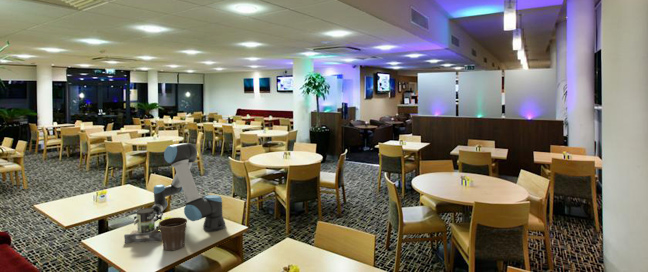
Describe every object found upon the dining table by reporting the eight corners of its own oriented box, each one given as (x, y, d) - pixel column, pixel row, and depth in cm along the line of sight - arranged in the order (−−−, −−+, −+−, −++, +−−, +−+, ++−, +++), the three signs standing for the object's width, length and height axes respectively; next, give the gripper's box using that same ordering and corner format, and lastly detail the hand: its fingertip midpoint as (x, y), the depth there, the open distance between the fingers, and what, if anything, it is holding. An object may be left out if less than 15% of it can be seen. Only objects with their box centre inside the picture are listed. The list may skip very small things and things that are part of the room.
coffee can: (158, 228, 234) (157, 208, 232) (147, 234, 224) (146, 213, 222) (145, 227, 236) (143, 207, 234) (134, 233, 226) (132, 212, 224)
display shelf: (167, 233, 238) (166, 225, 237) (160, 241, 225) (160, 233, 224) (133, 234, 235) (132, 227, 235) (124, 243, 222) (124, 235, 221)
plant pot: (193, 242, 224) (192, 218, 222) (178, 253, 208) (176, 227, 206) (171, 240, 227) (169, 216, 225) (154, 251, 211) (152, 225, 209)
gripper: (172, 215, 249) (161, 227, 227) (139, 216, 246) (125, 228, 224) (171, 205, 248) (161, 216, 226) (138, 206, 245) (124, 217, 223)
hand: (143, 222), depth 225 cm, fingers closed on coffee can, 10 cm apart
